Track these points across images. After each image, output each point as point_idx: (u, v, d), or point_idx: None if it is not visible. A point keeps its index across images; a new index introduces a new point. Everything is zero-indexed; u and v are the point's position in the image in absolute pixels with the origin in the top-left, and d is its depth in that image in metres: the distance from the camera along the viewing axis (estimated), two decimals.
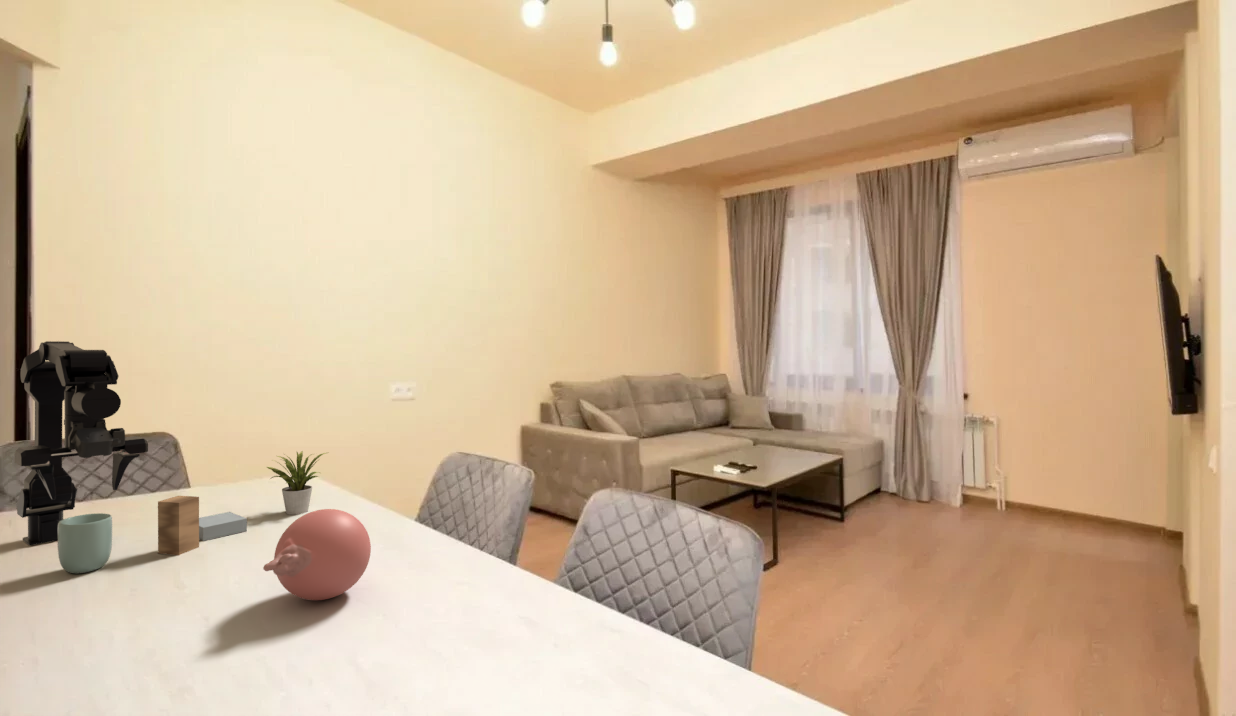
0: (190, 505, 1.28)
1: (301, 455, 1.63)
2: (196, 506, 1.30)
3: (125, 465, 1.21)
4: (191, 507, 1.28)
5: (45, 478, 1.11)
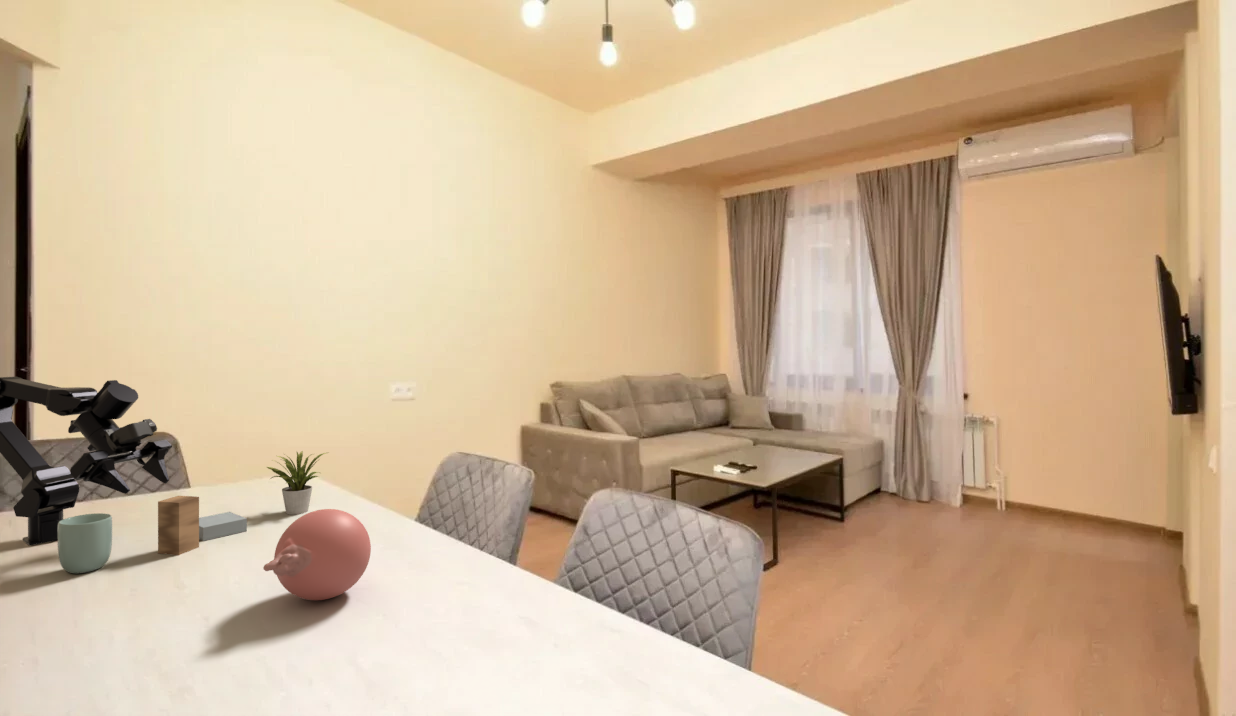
0: (190, 505, 1.28)
1: (301, 455, 1.63)
2: (196, 506, 1.30)
3: (162, 460, 1.35)
4: (191, 507, 1.28)
5: (112, 473, 1.24)
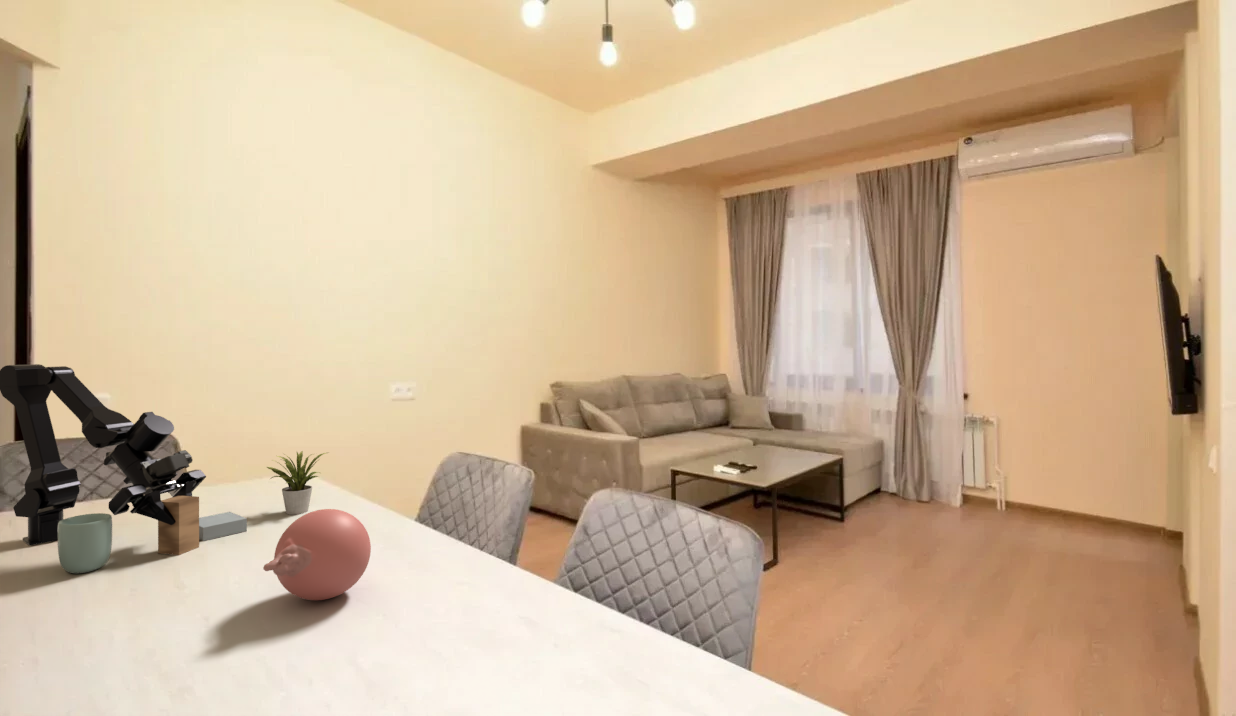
0: (190, 505, 1.28)
1: (301, 455, 1.63)
2: (196, 506, 1.30)
3: (190, 493, 1.32)
4: (191, 507, 1.28)
5: (159, 505, 1.24)
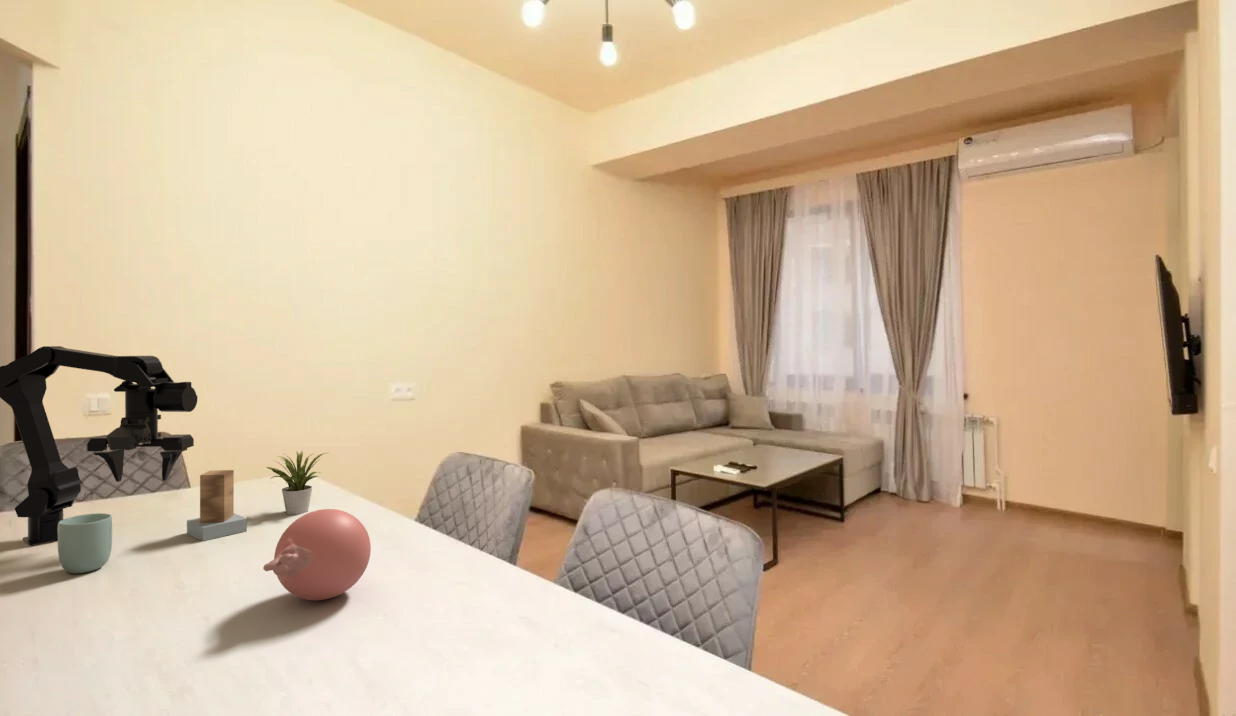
0: (229, 477, 1.41)
1: (301, 455, 1.63)
2: (232, 478, 1.43)
3: (167, 460, 1.35)
4: (230, 479, 1.41)
5: (108, 463, 1.33)
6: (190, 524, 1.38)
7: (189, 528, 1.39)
